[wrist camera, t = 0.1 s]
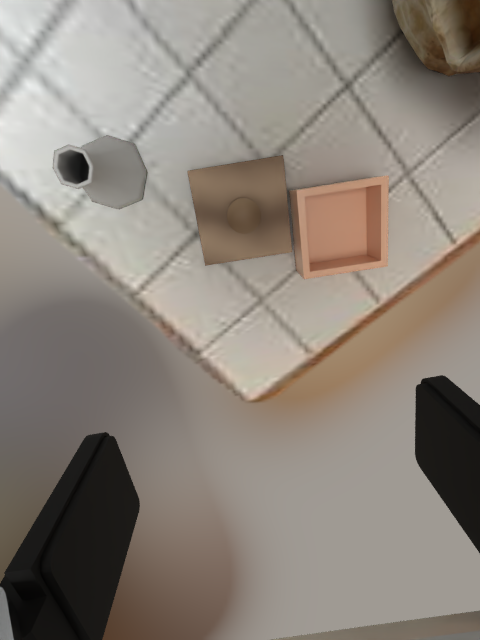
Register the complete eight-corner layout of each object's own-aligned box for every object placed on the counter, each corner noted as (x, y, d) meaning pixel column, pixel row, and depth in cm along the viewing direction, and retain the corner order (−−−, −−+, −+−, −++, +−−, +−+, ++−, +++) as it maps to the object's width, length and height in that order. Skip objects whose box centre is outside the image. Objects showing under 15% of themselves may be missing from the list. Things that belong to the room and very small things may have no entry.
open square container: (288, 190, 37) (296, 190, 32) (370, 177, 36) (388, 175, 32) (296, 270, 40) (304, 279, 36) (370, 258, 40) (387, 266, 35)
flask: (142, 134, 34) (110, 112, 25) (152, 207, 37) (126, 213, 28) (72, 137, 34) (13, 116, 25) (86, 210, 37) (38, 216, 28)
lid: (188, 171, 35) (180, 167, 30) (281, 156, 35) (291, 149, 29) (206, 263, 39) (202, 275, 33) (290, 250, 39) (301, 260, 33)
